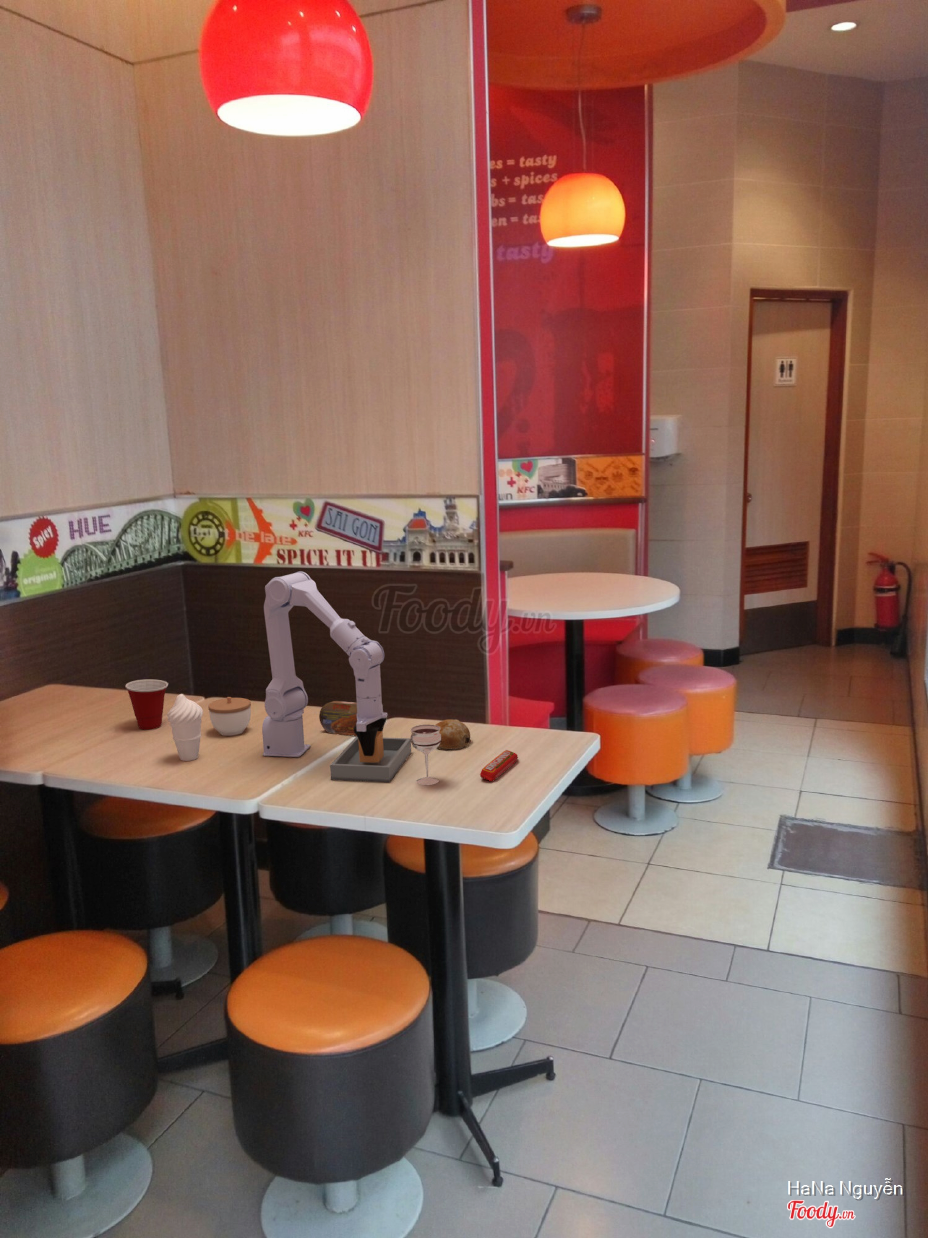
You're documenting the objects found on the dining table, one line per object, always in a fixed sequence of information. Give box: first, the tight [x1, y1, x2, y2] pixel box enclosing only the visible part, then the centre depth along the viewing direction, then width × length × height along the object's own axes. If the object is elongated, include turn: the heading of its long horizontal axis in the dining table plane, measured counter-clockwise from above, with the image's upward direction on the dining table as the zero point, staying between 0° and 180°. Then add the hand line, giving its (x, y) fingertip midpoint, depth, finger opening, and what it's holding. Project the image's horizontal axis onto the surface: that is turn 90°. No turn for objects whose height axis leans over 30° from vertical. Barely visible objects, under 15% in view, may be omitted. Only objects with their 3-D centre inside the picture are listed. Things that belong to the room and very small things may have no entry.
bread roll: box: [435, 718, 471, 751], centre depth 239 cm, size 10×10×8 cm
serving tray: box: [329, 736, 412, 783], centre depth 226 cm, size 14×20×4 cm
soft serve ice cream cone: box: [166, 693, 204, 762], centre depth 234 cm, size 8×8×16 cm
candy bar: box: [479, 749, 519, 782], centre depth 221 cm, size 16×4×3 cm, turn 154°
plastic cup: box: [125, 678, 169, 731], centre depth 260 cm, size 11×11×12 cm
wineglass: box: [409, 724, 441, 786], centre depth 215 cm, size 7×7×12 cm
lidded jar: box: [207, 696, 252, 737], centre depth 253 cm, size 11×11×9 cm
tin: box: [318, 700, 357, 737], centre depth 249 cm, size 15×3×8 cm, turn 67°
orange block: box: [358, 731, 384, 763], centre depth 226 cm, size 4×4×6 cm
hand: (371, 751), depth 226 cm, fingers closed on orange block, 4 cm apart
